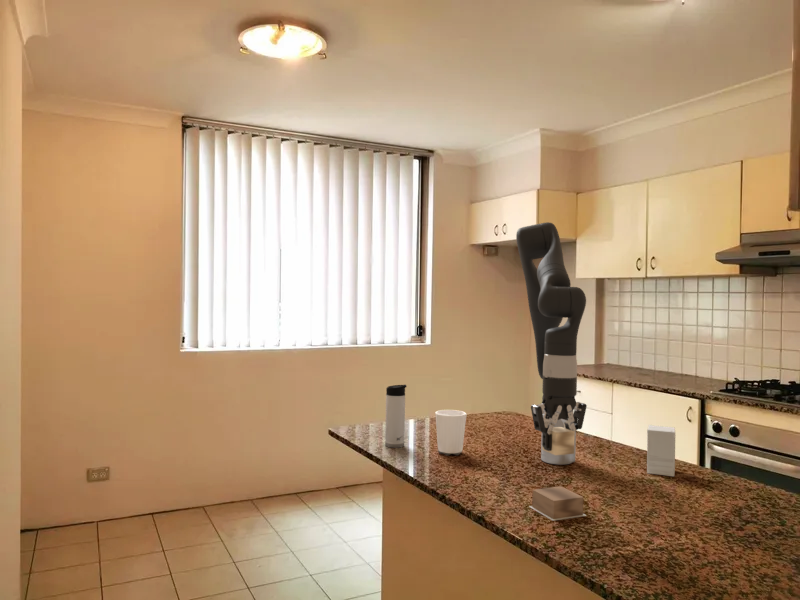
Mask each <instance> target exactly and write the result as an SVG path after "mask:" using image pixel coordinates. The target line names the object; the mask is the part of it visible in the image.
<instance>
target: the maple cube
mask: <svg viewBox="0 0 800 600" xmlns="http://www.w3.org/2000/svg"><path fill="white" fill-rule="evenodd" d="M551 434H552V450H551V451H547V450H545V449H544V447H543V446H542V450H544V451H546V452H549V453H551V454H553V455H565V454H574V436H575V431H572V430H569V429H566V428H563V427H553V430H552V433H551Z"/></svg>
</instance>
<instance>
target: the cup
mask: <svg viewBox="0 0 800 600" xmlns="http://www.w3.org/2000/svg"><path fill="white" fill-rule="evenodd" d="M434 413H435V426H436V429H435V430H436V441H437V442H436V443H437V452H438V454H440V455H441V454H444V456H447V457H448V456H450V455H453V456H456V457H457V456H459V455H460V454H462V452H463V448H464V441H465V440H464V439H465V430H466V421H467V413H466V412H465V411H463V410H458V409H457V410H456V409H439V410H437V411H435V412H434Z"/></svg>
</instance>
